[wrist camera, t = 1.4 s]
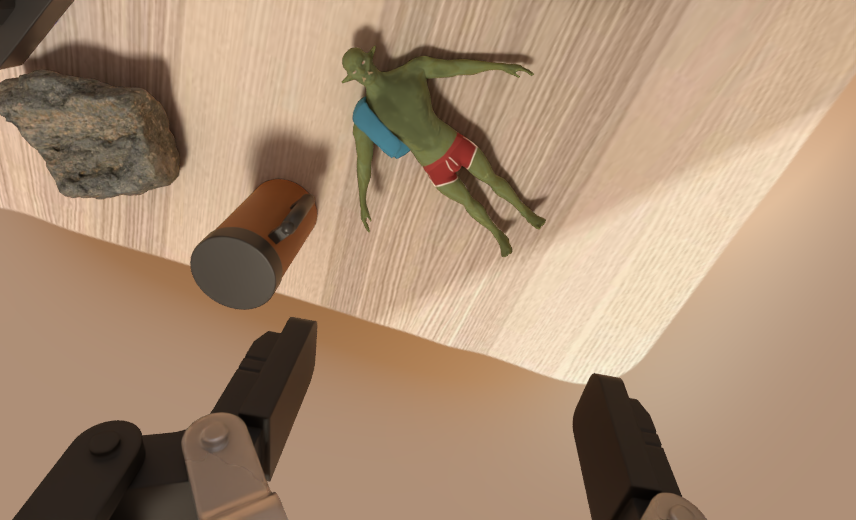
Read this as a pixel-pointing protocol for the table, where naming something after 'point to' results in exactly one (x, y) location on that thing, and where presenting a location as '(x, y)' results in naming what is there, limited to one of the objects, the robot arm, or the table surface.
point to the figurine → (424, 131)
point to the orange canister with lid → (254, 245)
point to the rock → (93, 133)
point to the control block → (26, 27)
